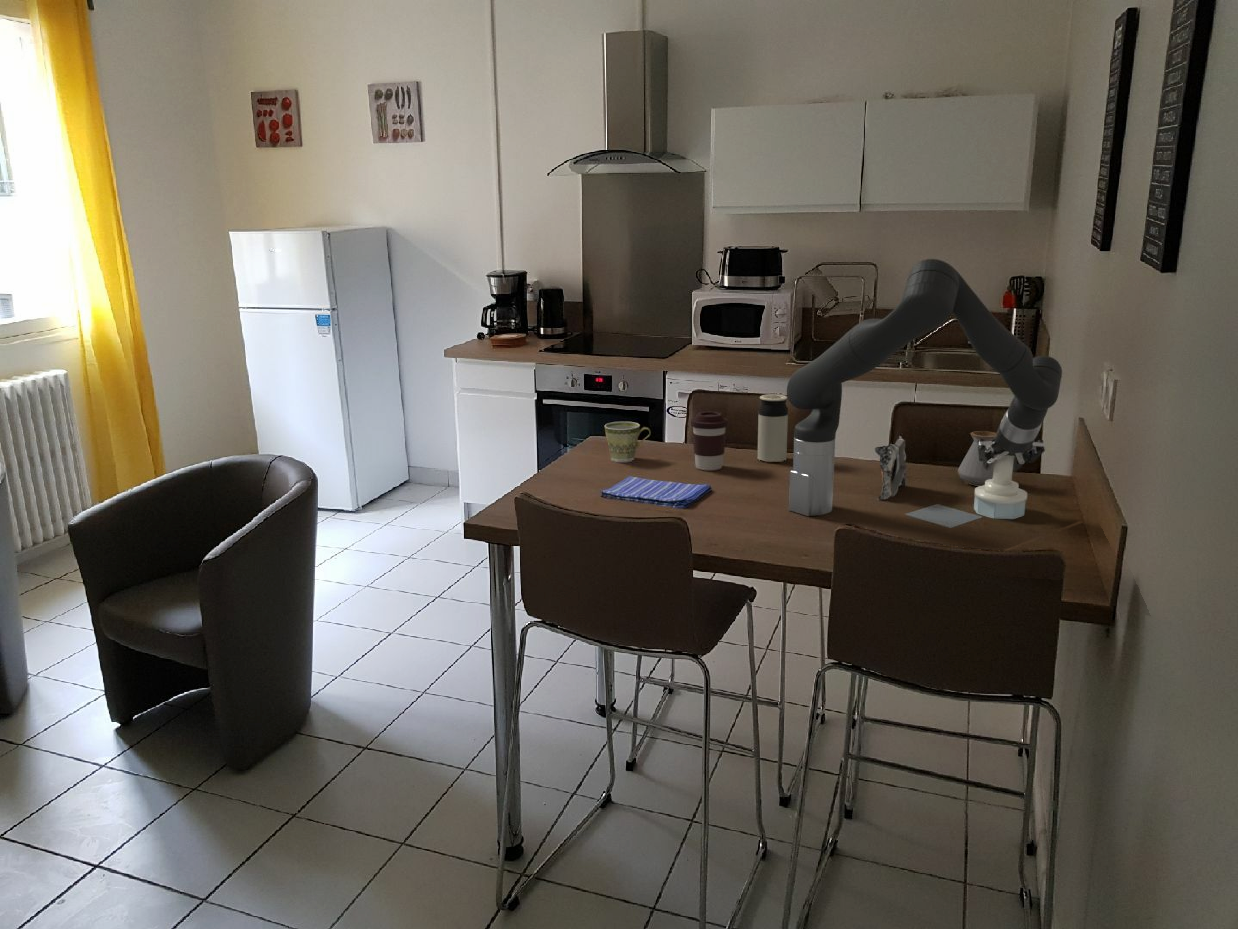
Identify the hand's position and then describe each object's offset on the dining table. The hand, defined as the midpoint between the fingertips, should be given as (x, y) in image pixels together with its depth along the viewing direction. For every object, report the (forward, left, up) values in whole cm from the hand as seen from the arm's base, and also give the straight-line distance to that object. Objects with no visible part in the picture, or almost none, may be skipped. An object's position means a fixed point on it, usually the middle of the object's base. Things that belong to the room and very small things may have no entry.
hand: (1000, 467), depth 207 cm
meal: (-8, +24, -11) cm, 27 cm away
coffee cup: (-26, +70, -11) cm, 75 cm away
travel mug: (-7, +65, -11) cm, 66 cm away
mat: (-13, +5, -10) cm, 17 cm away
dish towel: (-52, +60, -11) cm, 80 cm away
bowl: (-1, -1, -10) cm, 11 cm away
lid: (-1, -1, -6) cm, 7 cm away
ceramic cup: (-38, +91, -11) cm, 99 cm away
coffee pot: (+13, +13, -11) cm, 21 cm away
